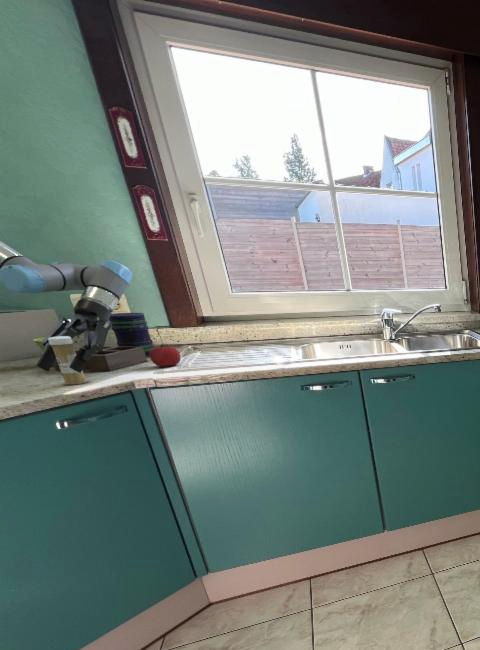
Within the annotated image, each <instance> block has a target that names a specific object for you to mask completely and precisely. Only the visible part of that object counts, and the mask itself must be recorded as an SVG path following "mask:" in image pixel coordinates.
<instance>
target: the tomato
mask: <svg viewBox="0 0 480 650" xmlns="http://www.w3.org/2000/svg"><path fill="white" fill-rule="evenodd" d="M154 347H155V348H153V349H151V350H150V353H149V354H150V357H149V359H150V360H151V362H152V363H153V364H154V365H155V366H157V367H160V368H166V367H174V366H176V365H178V364H180V362H181V359H182V358H181V353H180V352H179V350H177V349H176V348H175V347H173V346H170V345H163V343H162V344H160V346H154Z"/></svg>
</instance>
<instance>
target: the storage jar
mask: <svg viewBox="0 0 480 650" xmlns="http://www.w3.org/2000/svg"><path fill="white" fill-rule="evenodd" d="M108 322H109V323H110V324H111V325H112V326H111V330H112V331H113V333H114V337H115V338H116V339H115V340H116V346H130V347H143V349H144V352H145V355H146V358H150V354H149V353H150V350H151V349H153V348H155V347H156V346H155V344H154V342H153V340H152V339H151V335H150V332H149V326H148V321H147V320H146V317H145V313H144V312H117V313H112V314H111V316H110V318H109V320H108Z"/></svg>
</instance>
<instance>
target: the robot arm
mask: <svg viewBox="0 0 480 650" xmlns="http://www.w3.org/2000/svg"><path fill="white" fill-rule="evenodd" d="M132 278H133V273H132V271H131V269H129V268H128V267H126V265H124V264H122V263H120V262H118V261H115V260H110V259H105V260H103V261H101V262H100V263H99V265H98V266H94V265H93V266H90V265H83V264H76V263H71V262H59V261H54V262H51V263H47V264H43V263H42V264H39V263H35V262H34V261H33V260H30V259H29V258H27V257H26V256H24V254H23V255H22V254H21V253H20V252H18V251H17V250H15V249H14V248H12V247H11V246H9V245H7V244H6V243H5V242H3V241H2V240H0V282H1V283H3V284H4V286H5V288H7V289H8V290H10V291H12V292H14V293H18V294H40V293H41V294H42V293H52V292H64V291H65V292H68V291H83V292H82V293H81V295H80V296H79V299H78V300H77V302H76V303H75V305H74V307H73V312H74V316H73V317H71V318H69V319H68V318H65V317H61V318H60V320H59V322H58V324H56V325H55V327H53V329H52V330H51V331H50V332H49V333H48V334H47V336H45V337H44V338H45V339H44V340H43V341H42V342H41V344H42V345H43V346H45V347H46V349H45V351H44V353H43V352H42V354H41V356H40V358H39V360H38V361H37V363H36V364H35V366H36V367H37V368H40V369H42V370H43V371H45V372H49V371H50V369H51V368H52V366H53V365H52V364H53V363H54V361H55V360H56V356H55V353H54V350H53V348H52V346H51V345H50V343H49V340H48V338H50V337H57V336H69V337H71V339H72V338H73V339H74V338H75V337H79V336H80V335H82V334H83V344H82V345H81V347H80V348H78V349H79V351H78V353H77V354H76V356H75V358H74V360H73V361H72V363H71V365H70V366H69V368H71V369H73V370H75V371H77V372H82V370H83V368H84V367H85V365H86V363H87V361H89V359H90V358H91V356H92V354H93V353H95V352H96V351H100V352H101V351H103V348H104V346H106V341H107V337H108V333H109V330H110V329H112V325H111V324H110V322H109V318H110V316H111V314H113V313H114V310H115V309H116V307H117V305H118V304H119V302H120V300H121V298H122V297H123V295H124V294H125V291H126V290H127V288H128V287H129V286H130V283H131V281H132ZM83 348H85V349H83Z"/></svg>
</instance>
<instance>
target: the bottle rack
mask: <svg viewBox="0 0 480 650" xmlns="http://www.w3.org/2000/svg"><path fill="white" fill-rule="evenodd" d="M82 348H83V347H82ZM79 349H80V348H76V349H75V352H76V354H77V353H78V351H79ZM83 349H85V348H83ZM145 362H148V357H146V355H145V352H144V349H143V347H130V346H118V345H115V346H110V345H104V348H103V351H101V352H100V351H96V352H95V353H93V354H92V356H91V358H90V359H89V361H87V363H86V365H85V367H84V368H83V372H112V371H115V370H119V369H123V368H126V367H131V366H134V365H138V364H142V363H145ZM53 365H54V366H53ZM53 365H52V366H53V368H54V371H55V372H61V370H60V367H59V365H58V362H57V359H56V360H55V361H54V363H53Z"/></svg>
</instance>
